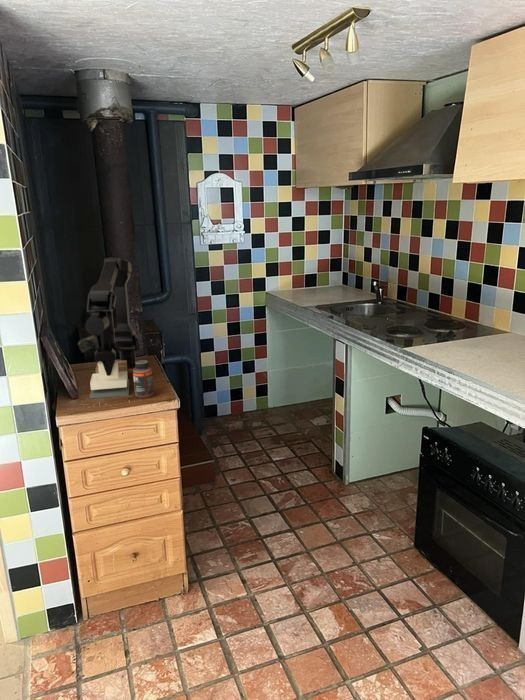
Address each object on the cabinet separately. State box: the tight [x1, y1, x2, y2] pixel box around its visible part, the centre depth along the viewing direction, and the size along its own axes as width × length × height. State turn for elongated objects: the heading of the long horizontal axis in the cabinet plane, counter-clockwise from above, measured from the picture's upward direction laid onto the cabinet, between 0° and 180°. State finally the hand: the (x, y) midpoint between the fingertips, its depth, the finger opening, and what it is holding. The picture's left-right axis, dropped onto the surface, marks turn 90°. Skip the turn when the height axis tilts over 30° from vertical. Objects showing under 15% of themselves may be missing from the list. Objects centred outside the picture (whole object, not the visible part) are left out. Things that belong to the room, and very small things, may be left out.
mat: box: [89, 379, 131, 400], centre depth 179 cm, size 14×12×1 cm
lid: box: [89, 359, 129, 391], centre depth 177 cm, size 9×11×8 cm
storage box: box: [95, 360, 129, 375], centre depth 189 cm, size 8×10×5 cm
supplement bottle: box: [132, 359, 155, 399], centre depth 172 cm, size 6×6×11 cm
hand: (109, 373), depth 177 cm, fingers closed on lid, 3 cm apart
